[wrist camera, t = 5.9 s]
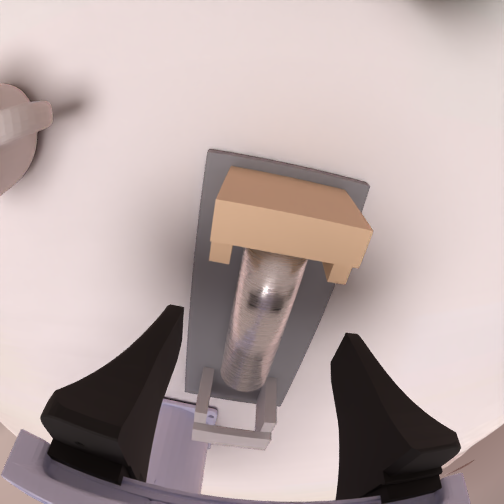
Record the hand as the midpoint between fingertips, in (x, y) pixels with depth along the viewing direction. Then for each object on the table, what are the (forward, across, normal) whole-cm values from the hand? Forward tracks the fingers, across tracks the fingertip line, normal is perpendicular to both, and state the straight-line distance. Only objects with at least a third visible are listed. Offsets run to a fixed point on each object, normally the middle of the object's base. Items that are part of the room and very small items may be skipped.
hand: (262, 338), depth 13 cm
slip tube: (+5, 0, +1) cm, 5 cm away
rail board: (+5, 0, +3) cm, 6 cm away
